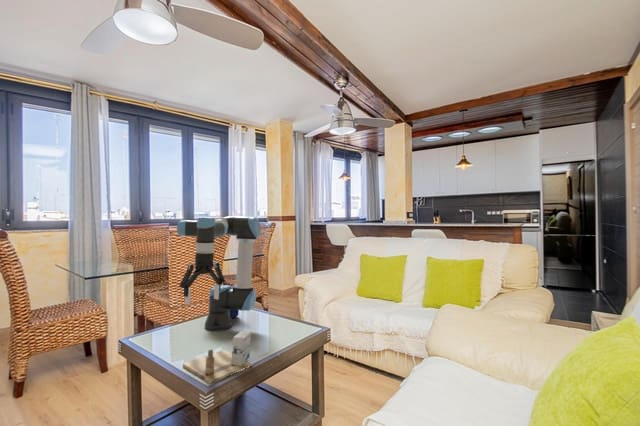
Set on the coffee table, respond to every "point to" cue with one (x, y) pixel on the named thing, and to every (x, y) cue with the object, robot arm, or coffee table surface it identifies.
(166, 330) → the coffee table surface
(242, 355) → the ink box
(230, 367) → the board
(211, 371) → the brown bottle
